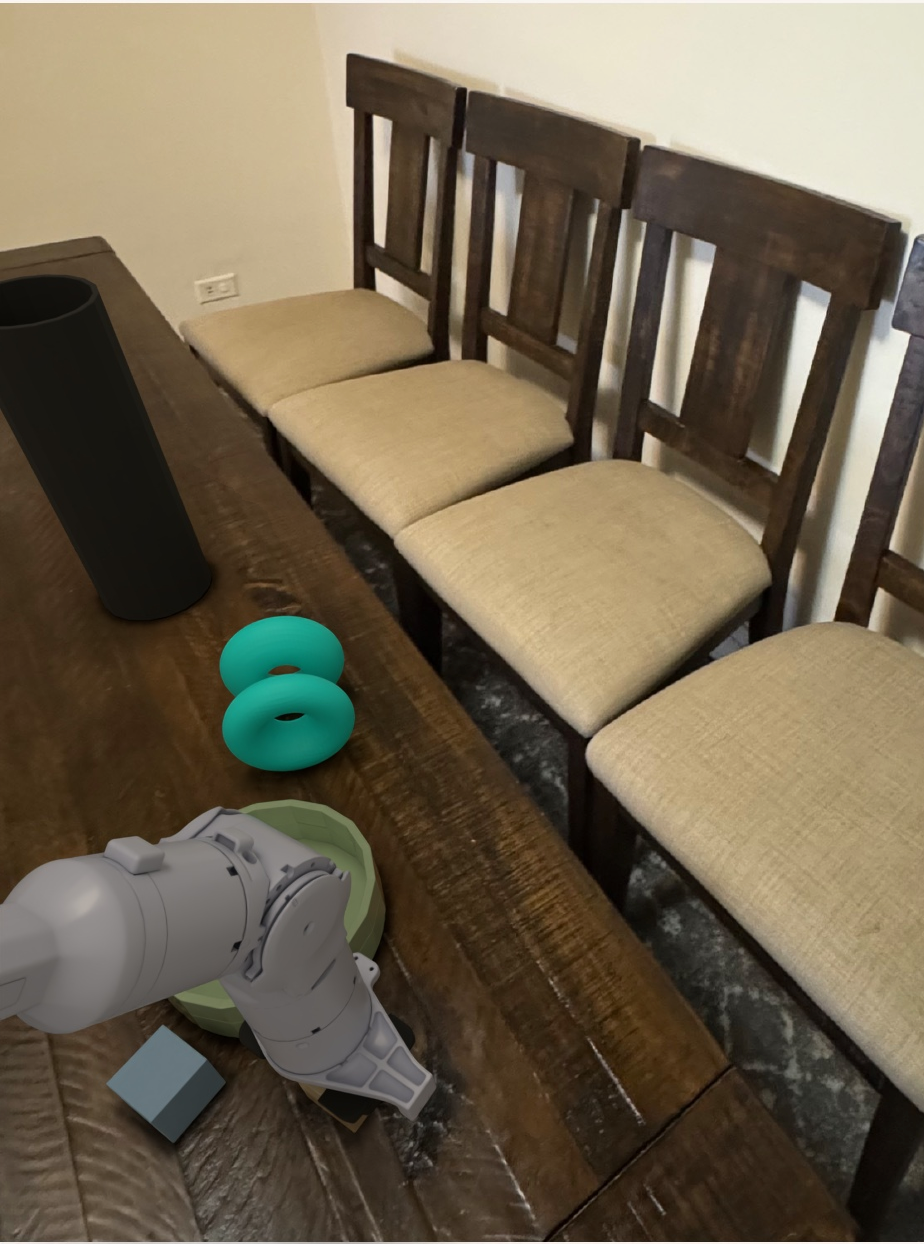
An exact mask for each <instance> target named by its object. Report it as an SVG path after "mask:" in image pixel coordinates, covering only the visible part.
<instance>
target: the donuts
mask: <svg viewBox="0 0 924 1244" xmlns="http://www.w3.org/2000/svg"><path fill="white" fill-rule="evenodd" d="M281 666H282V667H283V666H292V667H296V668H298V669H299V670H297V671H295V672H292V673H284V674H278V675H277V674H272V673H270V672H271V671H272V670H273V669H276V668H278V667H281ZM344 666H345V654H344V650H343V646H342V644H341V642H340V641H339V639H338V638H337V636H336V635H335V634H334V633H333V632H332V630H330V629H329V628H327V627H326V626H324V624H321V623H320V622H317V621H315V620H313V619H309V618H306V617H302V616H296V615H295V616H294V615H279V616H278V615H277V616H271V617H265V618H263V619H259V620H256V621H254V622H251V623H249V624H247V625H245V626H244V627H242V628H241V629H240V630H238V631H237V632H236V633H235V634H234V635H232V637H231V638H230V639H229V640H228V641H227V643H226V644H225V645H224V647H223V650H222V652H221V655H220V658H219V674H220V677H221V680H222V682H223V684H224V686H225V687H226V689H227V690H228V692H230V694H231V695H232V696H234V699H233V700H232V701H231V702H230V703H229V705H228V707H227V709H226V711H225V713H224V715H223V718H222V725H221V729H222V732H221V733H222V737H223V741H224V742H225V745H226V747H227V749H228V750H229V751H230V753H232V755H233V756H235V758H237V759H238V760H239V761H241V762H242V763H244V764H246V765H248V766H250V767H253V768H257V769H258V770H259V769H260V770H264V771H270V772H271V771H272V772H290V771H291V772H293V771H298V770H303V769H307V768H310V767H313V766H316V765H319V764H321V763H323V762H324V761H326V760H328V759H330V758H331V757H333V756H334V755H335V754H337V753H338V752H339V751H340V750H341V749H342V748H343V747H344V746H345V745H346V744H347V742H348V740H349V739H350V737H351V735H352V733H353V731H354V729H355V721H356V713H355V708H354V705H353V702H352V701H351V698H350V697H349V695H348V694H347V693H346V692H345V691H344V690H343V689H342V688H341V687H340V686H339V685H338V684H337V683H338V682H339V680H340V678H341V676H342V674H343V670H344ZM288 714H303V715H302V716H300V717H299V718H295V719H292V720H280V719H276V718H278V717H280V716H283V715H288Z"/></svg>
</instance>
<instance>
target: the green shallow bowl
mask: <svg viewBox="0 0 924 1244" xmlns="http://www.w3.org/2000/svg"><path fill="white" fill-rule="evenodd" d="M237 810H238V811H240V812H242V813H243V814H248V815H251V816H253V817H255V818H257V819H259V820H261V821H262V822H264V823H266V824H267V825H269V826H271V827H273V828H275V829H277V830H278V831H280V832H282V833H284V834H286V835H288V836H289V837H291V838H293V839H295V840H297V841H298V842H300V843H302V844H304V845H306V846H308V847H309V848H311V849H313V850H315V851H317V852H318V853H320V854H322V855H324V856H326V857H328V858H329V859H331V861H332V862H334V863H335V864H336V867H337V868H338V869H340V870H342V871H343V875H344V873H345V872H346V871H348V870H349V871H350V874H351V892H350V897H349V901H348V904H347V907H346V910H345V914H344V926H345V929H346V931H347V936H346V939H347V941H348V944H349V946H350V949H351V951H352V953H357V952H358V953H361V954H363V955H364V956H366V957H367V958H369V959H370V960H372V961H373V959H374V957H375V955H376V953H377V950H378V948H379V945H380V942H381V940H382V936H383V934H384V933H383V932H384V927H385V921H386V911H387V910H386V901H385V894H384V890H383V884H382V879H381V875H380V873H379V869H378V867H377V866H378V865H377V862H376V859H375V857H374V854H373V851H372V848H371V845H370V844H369V842H368V841H367V839H366V838H365V836H364V835H363V834H362V832H361V831H360V829H359V828H358V826H357V825H356V823H355V822H354V821H353V820H352V819H350V818H348V817H346V816H345V815H343V814H341V813H340V812H338V811H336V810H334V809H333V808H331V807H330V806H329V805H326V804H321V803H316V802H311V801H304V800H298V799H292V798H289V799H281V800H280V799H279V800H272V801H265V802H255V803H252V804H250V805H247V806H244V807H242V808H239V809H237ZM167 999H168V1001H169V1002H170V1003H171V1005H172V1006H173V1007H174V1008H175V1009H176V1010H177V1011H179V1012H180V1013H181V1014H183V1015H184V1017H186V1018H187V1019H188V1020H189V1021H190V1022H191V1023H192V1024H195V1025H196V1026H198V1027H200V1028H201V1029H202V1030H206V1031H208V1032H211V1033H213V1034H216V1035H219V1036H223V1037H228V1038H238V1039H239V1029H240V1027H241V1024H242V1023H243V1022H244V1020H245V1019H244V1017H243V1016H242V1015H241V1013H240V1012H239V1010H238V1009H237V1007H236V1006H235V1004H234V1003H233V1001H232V1000H231V998H230V997H229V996H228V994H227V993H226V991H225V989H224V988H223V987H222V985H221V984H220V982H219V980H218V979H217V980H214V981H211V982H208V983H206V984H203V985H200V986H197V987H195V988H192V989H189V990H187V991H184V992H181V993H178V994H176V995H173V996H170V997H168V998H167Z"/></svg>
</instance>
